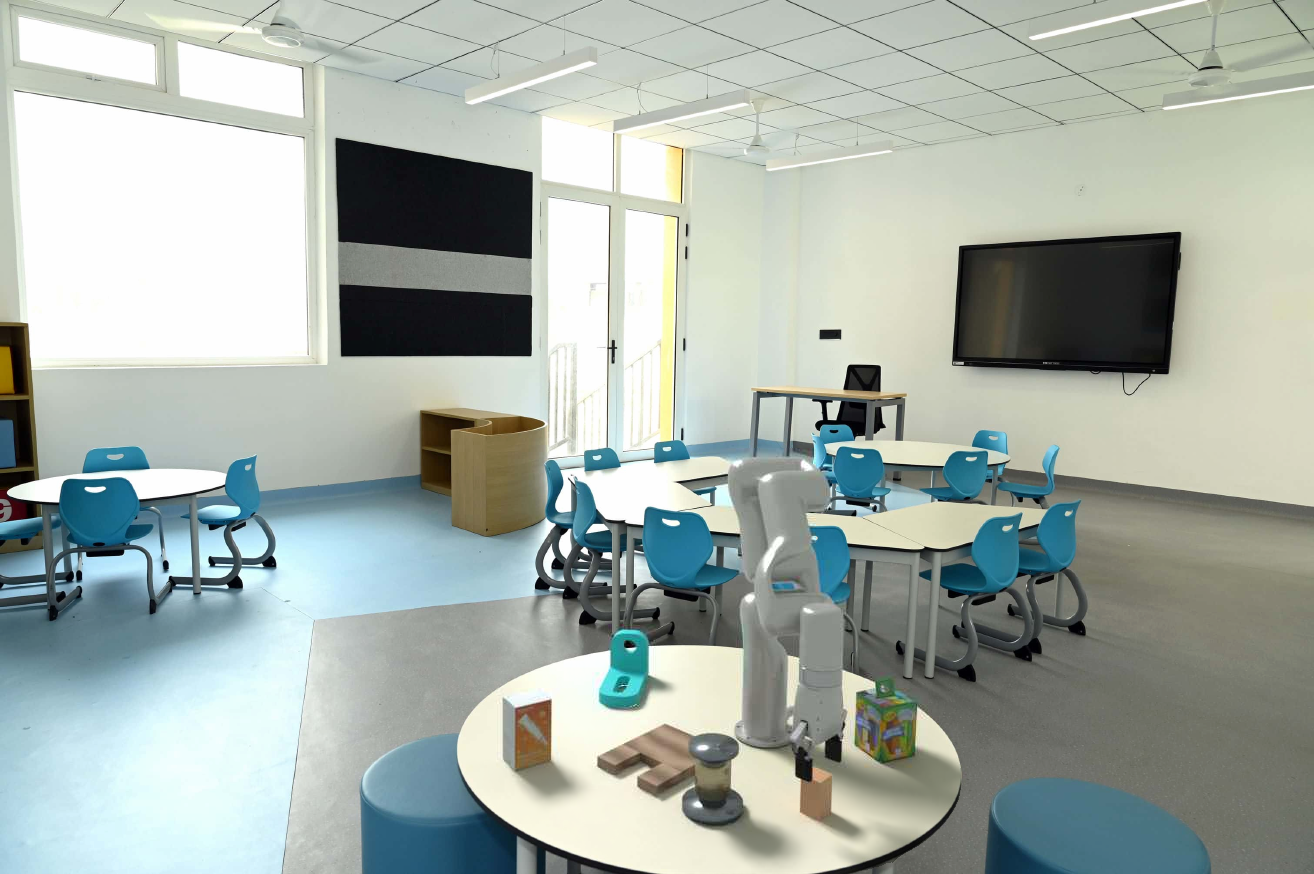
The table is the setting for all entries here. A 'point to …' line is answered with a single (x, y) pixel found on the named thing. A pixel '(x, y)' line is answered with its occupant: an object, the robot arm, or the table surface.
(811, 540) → the robot arm
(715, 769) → the bobbin
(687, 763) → the notched board
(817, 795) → the light orange block
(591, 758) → the table surface
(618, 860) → the table surface
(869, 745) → the chalk box
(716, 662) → the table surface
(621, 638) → the bracket
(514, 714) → the small box
